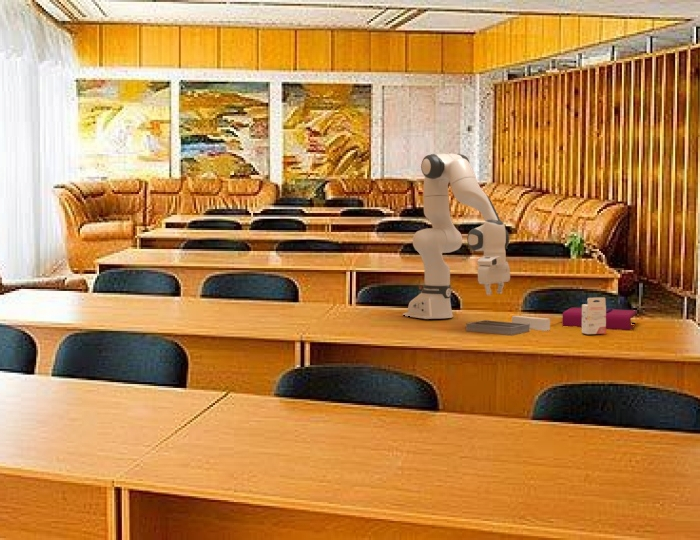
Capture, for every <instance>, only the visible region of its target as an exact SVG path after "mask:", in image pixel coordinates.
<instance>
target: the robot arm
mask: <svg viewBox="0 0 700 540" xmlns="http://www.w3.org/2000/svg"><path fill="white" fill-rule="evenodd" d="M420 165H421V166H420V169H421V172H422V174H423V176H424V179H423V187H422V192H423V193H422V197H423V199H422V201H423V202H422V203H423V215H424V216H425V218H426V219H428V220H429V222H430V223H431V226H432V227H431V228H428V227H427V228H423V229H420V230H417V231H416V232H414V234H413V237H412V246H413V248H414V250H415V251H417V252H418V253H419V255H420V257H421V261H422V263H423V267H424V268H423V269H424V284H423V285H421V286H419V290H421V291H420V293H419V294H418V295H417V296H415V297H414V298H413V299H411V300H410V301H409V303H408V307H407V312H404V313H403V312H402V316H403V315H405V316H404V317H408V316H410V318H418V319H424V320H429V319H431V320H432V319H450V318H454V315H453V310H452V304H451V295H452V291H451V290H452V285H451V268H450V265H449V264H447V262H445V260H444V257H443V254H446V253H448V254H449V253H452V252H455V251H458V250H459V249H460V248H461V247H462V245H463V244H462V243H463V236H462V234H461V232H460V231H459V230H458V229H457V228H456V226H455V225H454V223H453V220H452V217H451V213H450V212H451V211H450V200H449V199H450V198H449V184H450V188H451V192H452V194H453V196H454V198H455V200H456V201H458V203H460V204H462V205H464V206H468V207H471V208H473V209H475V210H477V211H478V212H479V213H480V214H481V215H482V217H483V219H484V223H483V224H481V225H480V226H478V227H475V228H471V230H469V232H468V234H467V240H466V241H467V245H468V247H469V248H470V249H471V250H472V251H475V252H483V255H482V256H481V257H480V258H478V259H477V263H476V264H477V265H478V267H477V282H478V283H479V284H480V285H484V290H485V294H486V295H487V296H492V295H493V290H492V289H491V287H492V284H497V289H496V294H503V289H504V285H505V283H507V282H510V280H511V270H510V269H511V267H510V265H509V262H508V261H507V259H506V258H507V257H506V256H507V255H506V249H507V247H508V246H509V244H510V234H509V232H508V230H507V229H506V226H505V223H504V222H503V221H501V219H500V217H499V215H498V212H497V211H496V208H495V206H494V204H493V202H492V200H491V199H490V197H489V196H488V194H486V193H485V191H483V189H482V188H481V186H480V185H479V182H478V180H477V178H476V175H475V174H476V173H475V172H474V170H473V168H472V166H471V164H470V160H469V158H468V156H466V155H464V154H461V153H452V152H451V153H450V152H449V153H448V152H447V153H445V152H444V153H436V154H435V153H432V154H431V153H430V154H428V155H425V156H424V157H423V158H422V160H421V164H420Z"/></svg>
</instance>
